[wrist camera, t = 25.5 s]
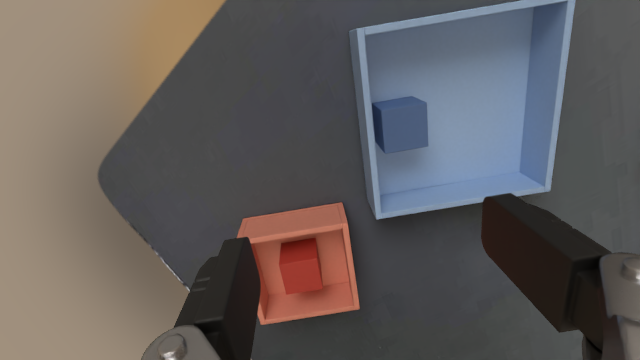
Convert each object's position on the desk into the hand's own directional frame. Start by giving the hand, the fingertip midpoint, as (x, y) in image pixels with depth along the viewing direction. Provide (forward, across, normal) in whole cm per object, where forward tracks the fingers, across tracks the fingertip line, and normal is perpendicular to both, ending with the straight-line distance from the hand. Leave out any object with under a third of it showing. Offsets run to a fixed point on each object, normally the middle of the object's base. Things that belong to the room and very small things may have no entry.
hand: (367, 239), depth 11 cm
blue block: (+22, -7, +2) cm, 23 cm away
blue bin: (+23, -12, +2) cm, 26 cm away
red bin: (+23, +5, +16) cm, 28 cm away
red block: (+22, +5, +16) cm, 28 cm away
